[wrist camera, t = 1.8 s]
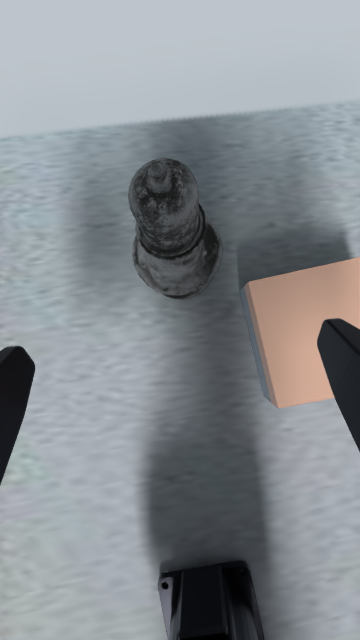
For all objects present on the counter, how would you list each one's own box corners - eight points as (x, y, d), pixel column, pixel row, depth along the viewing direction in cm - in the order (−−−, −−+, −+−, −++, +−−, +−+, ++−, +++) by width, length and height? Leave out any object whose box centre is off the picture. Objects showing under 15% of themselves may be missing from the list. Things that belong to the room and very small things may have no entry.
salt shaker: (128, 270, 21) (35, 178, 9) (176, 214, 21) (148, 49, 9) (184, 318, 20) (163, 288, 8) (233, 261, 20) (284, 150, 8)
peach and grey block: (373, 374, 19) (413, 382, 16) (263, 396, 19) (278, 408, 16) (345, 268, 20) (376, 253, 16) (239, 291, 20) (248, 281, 17)
